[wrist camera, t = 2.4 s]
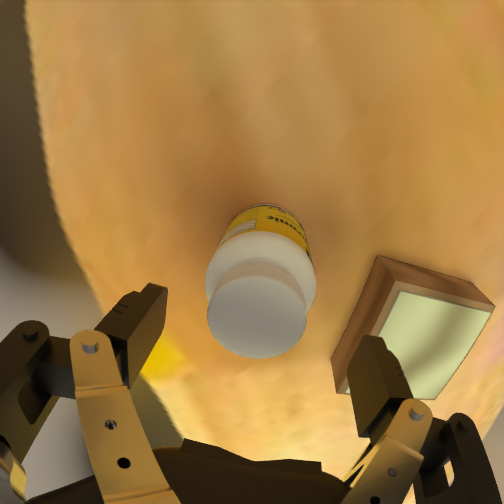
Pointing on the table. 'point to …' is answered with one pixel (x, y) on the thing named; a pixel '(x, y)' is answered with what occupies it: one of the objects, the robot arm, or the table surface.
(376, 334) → the pedestal
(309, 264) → the supplement bottle
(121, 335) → the robot arm
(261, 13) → the table surface
